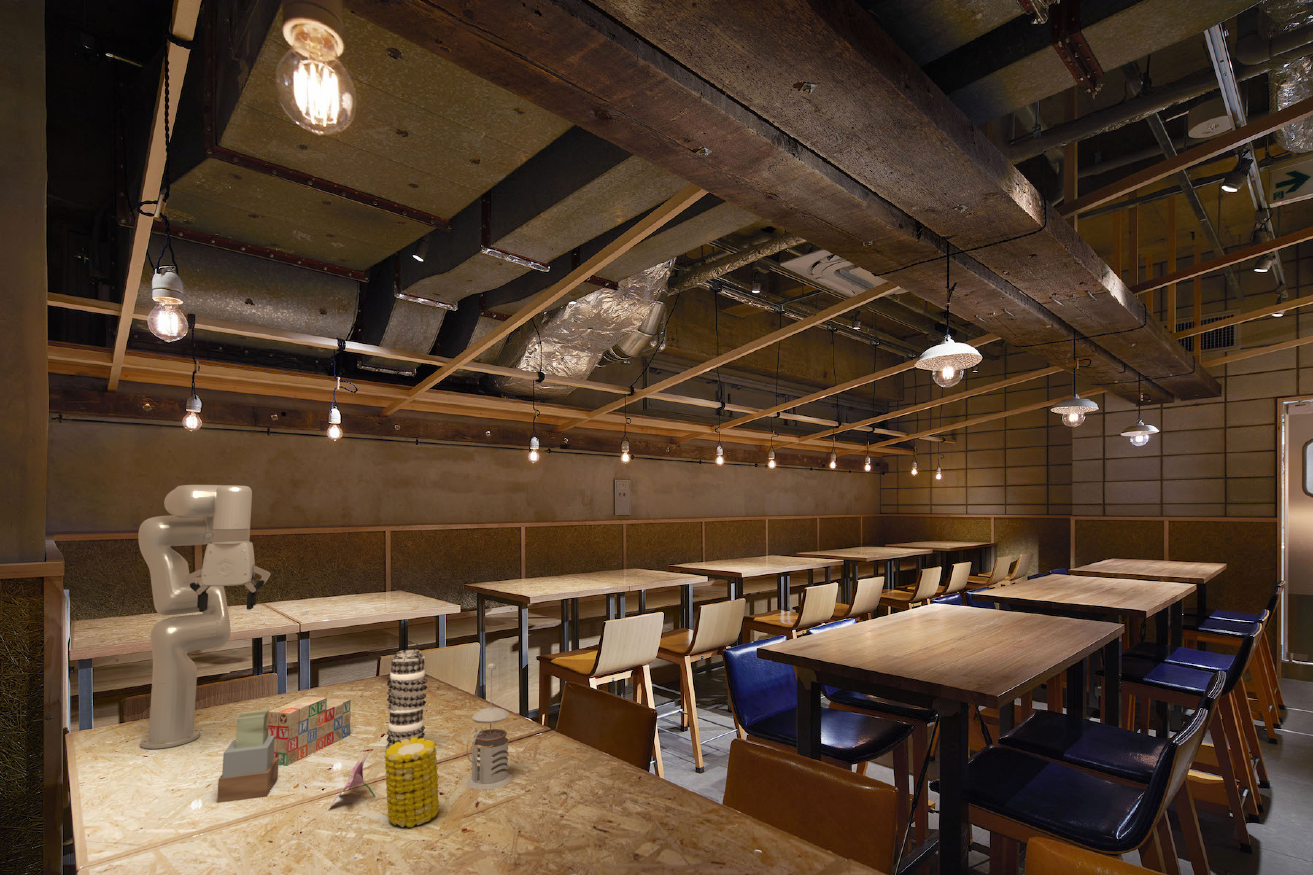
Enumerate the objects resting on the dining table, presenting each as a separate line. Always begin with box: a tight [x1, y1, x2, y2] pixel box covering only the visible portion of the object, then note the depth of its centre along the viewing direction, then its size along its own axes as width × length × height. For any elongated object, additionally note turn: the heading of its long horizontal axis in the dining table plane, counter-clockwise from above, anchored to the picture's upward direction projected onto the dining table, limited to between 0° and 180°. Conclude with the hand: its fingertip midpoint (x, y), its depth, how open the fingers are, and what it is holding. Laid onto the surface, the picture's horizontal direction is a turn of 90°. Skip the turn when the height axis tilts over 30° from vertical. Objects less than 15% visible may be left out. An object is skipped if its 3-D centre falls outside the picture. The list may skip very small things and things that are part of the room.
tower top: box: [221, 735, 275, 778], centre depth 140 cm, size 8×8×5 cm
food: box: [384, 737, 440, 829], centre depth 127 cm, size 15×12×10 cm
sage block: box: [235, 709, 270, 749], centre depth 141 cm, size 5×5×6 cm
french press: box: [466, 663, 513, 791], centre depth 144 cm, size 10×12×25 cm
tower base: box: [216, 757, 279, 804], centre depth 140 cm, size 9×9×5 cm
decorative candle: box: [385, 648, 428, 749], centre depth 158 cm, size 9×9×25 cm
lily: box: [328, 749, 376, 810], centre depth 135 cm, size 12×12×10 cm
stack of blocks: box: [268, 696, 352, 767], centre depth 164 cm, size 21×6×12 cm, turn 166°
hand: (226, 609), depth 154 cm, fingers open, 9 cm apart
